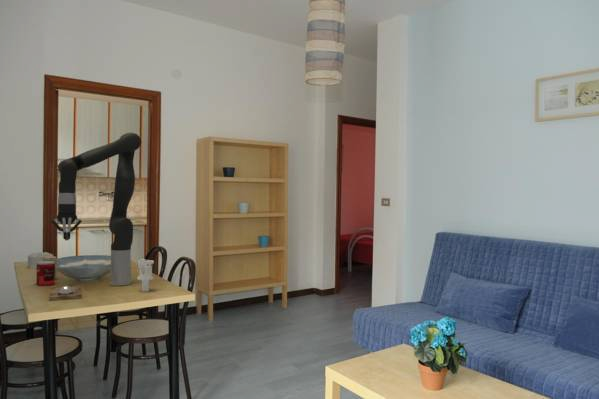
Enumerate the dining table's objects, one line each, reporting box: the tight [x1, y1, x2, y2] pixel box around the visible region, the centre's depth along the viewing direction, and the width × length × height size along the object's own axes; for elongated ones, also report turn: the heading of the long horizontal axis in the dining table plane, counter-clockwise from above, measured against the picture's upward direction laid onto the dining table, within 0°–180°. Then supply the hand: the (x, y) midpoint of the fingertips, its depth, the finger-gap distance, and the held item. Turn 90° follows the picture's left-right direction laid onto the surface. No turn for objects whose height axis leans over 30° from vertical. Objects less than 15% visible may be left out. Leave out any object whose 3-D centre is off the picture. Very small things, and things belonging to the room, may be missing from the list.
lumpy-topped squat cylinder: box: [27, 251, 54, 270], centre depth 274 cm, size 10×13×9 cm
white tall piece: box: [137, 258, 155, 293], centre depth 214 cm, size 7×7×15 cm
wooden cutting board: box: [48, 285, 82, 302], centre depth 203 cm, size 12×20×2 cm, turn 26°
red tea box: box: [42, 255, 58, 280], centre depth 236 cm, size 6×8×12 cm
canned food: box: [36, 261, 56, 287], centre depth 224 cm, size 8×8×11 cm
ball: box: [59, 285, 72, 295], centre depth 198 cm, size 5×5×5 cm
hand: (66, 240), depth 213 cm, fingers closed
